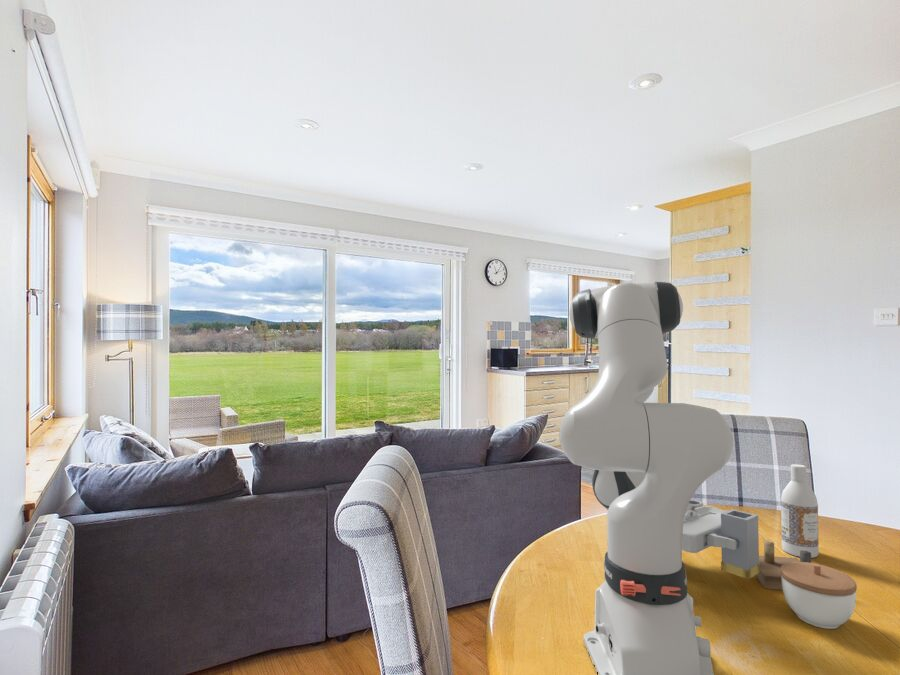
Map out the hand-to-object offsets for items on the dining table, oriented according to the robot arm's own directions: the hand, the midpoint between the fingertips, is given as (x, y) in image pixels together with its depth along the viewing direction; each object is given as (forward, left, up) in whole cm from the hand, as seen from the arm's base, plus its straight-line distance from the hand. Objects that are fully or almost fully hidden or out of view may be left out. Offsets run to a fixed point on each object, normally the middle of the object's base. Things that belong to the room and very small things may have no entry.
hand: (744, 541), depth 96 cm
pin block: (+7, -9, -10) cm, 15 cm away
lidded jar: (-8, -9, -10) cm, 15 cm away
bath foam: (+22, -19, -10) cm, 31 cm away
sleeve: (+1, +1, -6) cm, 6 cm away
